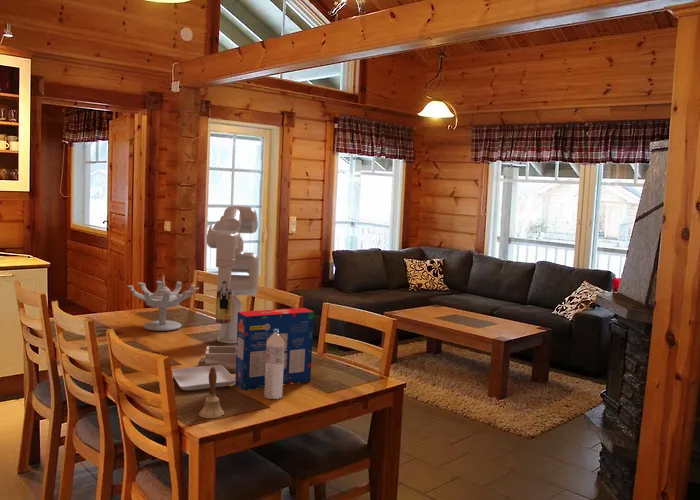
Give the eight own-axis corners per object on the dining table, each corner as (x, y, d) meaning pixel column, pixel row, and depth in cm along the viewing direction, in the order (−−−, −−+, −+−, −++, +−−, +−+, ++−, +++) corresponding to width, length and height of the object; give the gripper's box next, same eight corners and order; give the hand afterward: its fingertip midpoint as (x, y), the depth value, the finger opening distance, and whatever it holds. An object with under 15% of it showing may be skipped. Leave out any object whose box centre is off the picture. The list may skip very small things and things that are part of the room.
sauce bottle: (227, 325, 257) (228, 276, 255) (212, 323, 258) (214, 275, 256) (233, 321, 263) (235, 274, 261) (219, 320, 265) (220, 272, 262)
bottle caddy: (200, 360, 270) (201, 344, 269) (243, 360, 273) (244, 344, 273) (198, 373, 252) (198, 356, 252) (244, 373, 256) (244, 356, 255)
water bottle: (264, 393, 233) (266, 326, 230) (282, 394, 234) (285, 327, 231) (263, 400, 226) (265, 331, 224) (282, 400, 227) (285, 332, 224)
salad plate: (179, 395, 228) (180, 385, 228) (167, 377, 247) (167, 368, 246) (237, 389, 238) (237, 380, 237) (221, 372, 256) (221, 364, 256)
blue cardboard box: (301, 375, 257) (304, 307, 253) (310, 381, 250) (313, 311, 247) (235, 384, 242) (237, 311, 239) (243, 390, 235) (245, 316, 232)
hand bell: (222, 419, 207) (224, 371, 205) (197, 418, 206) (198, 370, 204) (225, 410, 215) (227, 364, 213) (201, 409, 214) (202, 363, 213)
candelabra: (211, 329, 324) (213, 276, 321) (149, 339, 298) (150, 282, 295) (173, 317, 346) (174, 267, 343) (112, 325, 320) (113, 272, 317)
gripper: (216, 260, 266) (215, 302, 268) (215, 266, 249) (213, 311, 251) (234, 260, 267) (233, 302, 269) (234, 266, 250) (233, 311, 252)
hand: (223, 306), depth 260 cm, fingers closed on sauce bottle, 6 cm apart
